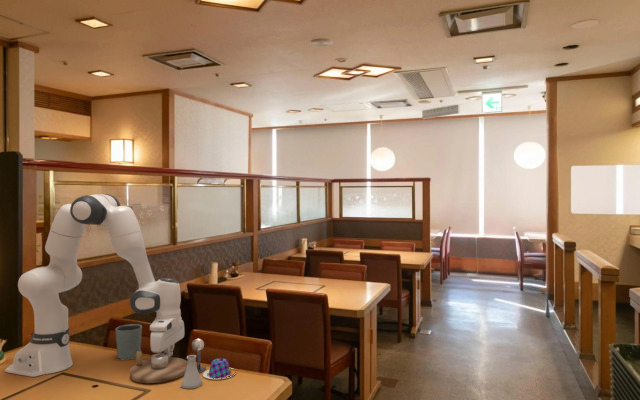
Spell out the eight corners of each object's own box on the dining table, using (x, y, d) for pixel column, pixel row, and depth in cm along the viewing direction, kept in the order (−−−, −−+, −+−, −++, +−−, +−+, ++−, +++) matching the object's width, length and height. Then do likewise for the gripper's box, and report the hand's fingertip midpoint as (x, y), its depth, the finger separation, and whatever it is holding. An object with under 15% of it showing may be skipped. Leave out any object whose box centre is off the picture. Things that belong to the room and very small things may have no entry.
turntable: (118, 381, 155) (118, 361, 155) (148, 361, 175) (148, 343, 175) (172, 384, 152) (172, 364, 152) (196, 363, 172) (196, 345, 172)
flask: (196, 390, 149) (196, 360, 149) (176, 388, 151) (176, 359, 151) (205, 382, 156) (206, 353, 156) (187, 380, 158) (187, 352, 158)
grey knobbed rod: (190, 372, 165) (190, 339, 165) (195, 368, 169) (195, 336, 169) (202, 373, 165) (202, 340, 165) (206, 369, 169) (206, 336, 169)
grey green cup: (129, 361, 176) (129, 331, 176) (109, 359, 179) (109, 329, 180) (147, 353, 186) (147, 325, 186) (127, 351, 189) (127, 322, 189)
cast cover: (147, 369, 161) (147, 356, 161) (156, 363, 167) (156, 351, 167) (163, 370, 160) (163, 357, 160) (171, 364, 166) (171, 352, 166)
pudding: (219, 366, 172) (219, 353, 172) (243, 373, 165) (243, 359, 165) (195, 376, 162) (195, 362, 162) (219, 384, 155) (219, 369, 155)
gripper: (173, 313, 181) (173, 347, 181) (147, 327, 161) (147, 365, 161) (188, 314, 180) (188, 348, 180) (163, 328, 160) (163, 366, 160)
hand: (168, 356), depth 171 cm, fingers closed
